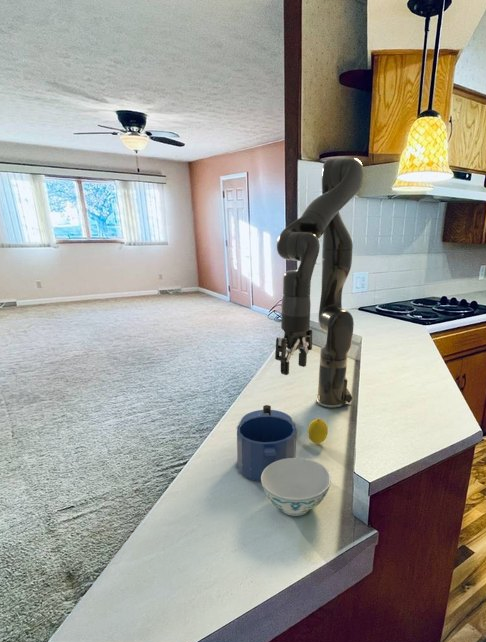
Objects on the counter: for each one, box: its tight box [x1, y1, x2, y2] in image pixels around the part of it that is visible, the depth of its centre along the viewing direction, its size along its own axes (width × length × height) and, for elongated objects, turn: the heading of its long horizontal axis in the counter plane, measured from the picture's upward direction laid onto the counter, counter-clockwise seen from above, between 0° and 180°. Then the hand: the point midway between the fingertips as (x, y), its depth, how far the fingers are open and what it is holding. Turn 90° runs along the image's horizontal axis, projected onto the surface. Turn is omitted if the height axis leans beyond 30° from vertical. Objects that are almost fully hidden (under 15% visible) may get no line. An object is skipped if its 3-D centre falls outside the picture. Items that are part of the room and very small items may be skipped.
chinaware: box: [260, 457, 332, 517], centre depth 90 cm, size 15×15×8 cm
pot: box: [236, 413, 298, 482], centre depth 103 cm, size 15×20×10 cm
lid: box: [240, 404, 294, 423], centre depth 125 cm, size 16×16×6 cm
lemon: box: [307, 418, 329, 445], centre depth 115 cm, size 6×6×8 cm
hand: (293, 370), depth 113 cm, fingers open, 8 cm apart
